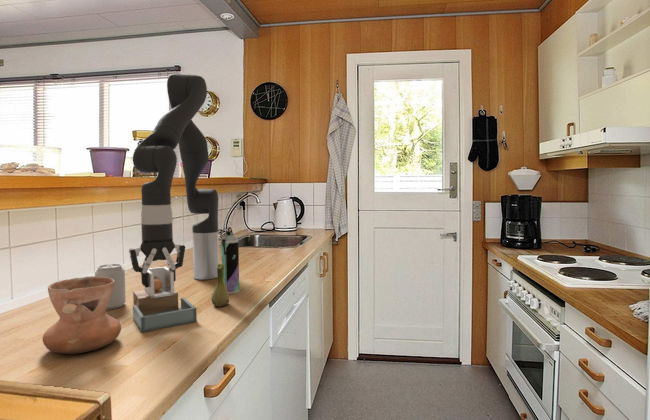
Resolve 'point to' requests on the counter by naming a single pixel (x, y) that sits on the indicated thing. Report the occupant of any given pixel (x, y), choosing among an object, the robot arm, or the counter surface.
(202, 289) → the counter surface
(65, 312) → the ceramic jug
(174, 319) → the tray
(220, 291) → the fennel bulb
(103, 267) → the can
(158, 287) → the ball
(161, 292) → the chute
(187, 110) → the robot arm
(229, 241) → the spray can
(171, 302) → the stand
